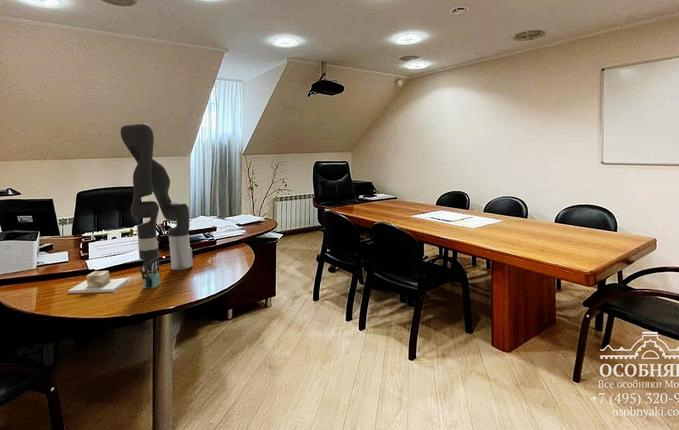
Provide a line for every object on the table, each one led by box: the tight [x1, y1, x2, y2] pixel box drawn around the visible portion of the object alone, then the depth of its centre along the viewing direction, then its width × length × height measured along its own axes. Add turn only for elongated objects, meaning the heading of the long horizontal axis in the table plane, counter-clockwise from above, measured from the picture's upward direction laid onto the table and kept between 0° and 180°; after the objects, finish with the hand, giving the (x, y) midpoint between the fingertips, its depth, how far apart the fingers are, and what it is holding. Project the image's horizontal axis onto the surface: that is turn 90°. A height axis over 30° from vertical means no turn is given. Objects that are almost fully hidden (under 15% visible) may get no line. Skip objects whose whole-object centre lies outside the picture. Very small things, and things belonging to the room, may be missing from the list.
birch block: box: [86, 270, 111, 287], centre depth 156 cm, size 6×6×5 cm
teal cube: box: [142, 272, 161, 289], centre depth 158 cm, size 5×5×5 cm
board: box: [67, 278, 129, 294], centre depth 157 cm, size 18×12×1 cm, turn 95°
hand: (151, 284), depth 159 cm, fingers closed on teal cube, 5 cm apart
